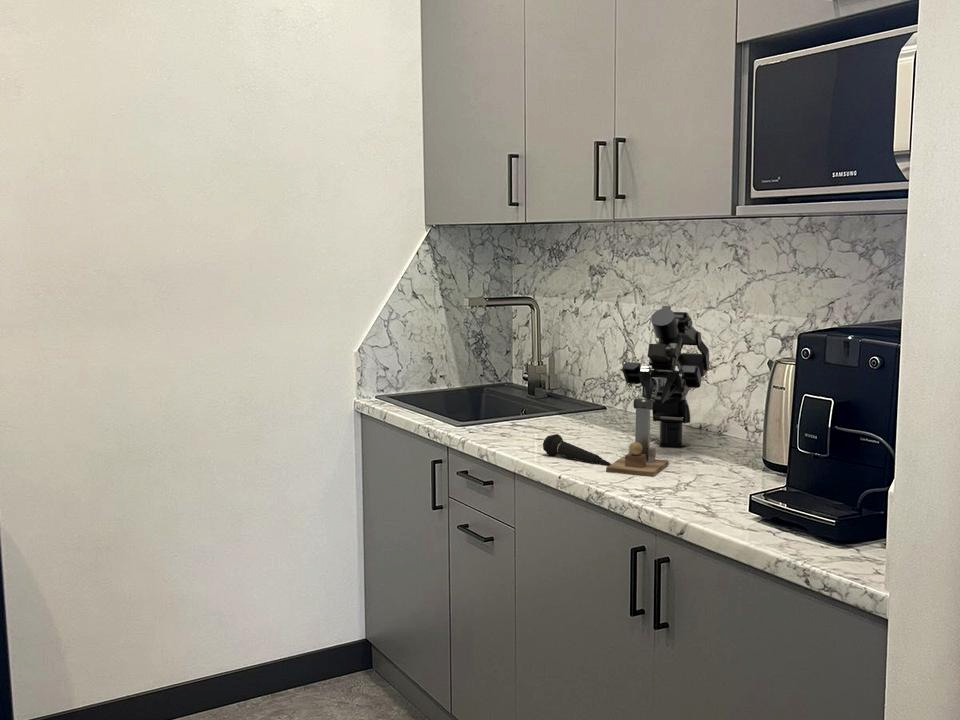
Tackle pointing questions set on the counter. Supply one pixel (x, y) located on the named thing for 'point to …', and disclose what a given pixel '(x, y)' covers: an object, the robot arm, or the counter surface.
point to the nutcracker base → (637, 471)
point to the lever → (643, 423)
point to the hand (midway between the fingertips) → (654, 402)
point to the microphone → (570, 450)
